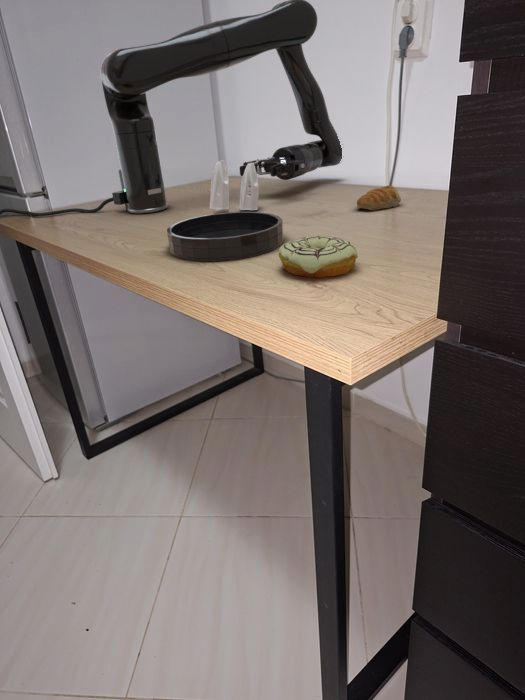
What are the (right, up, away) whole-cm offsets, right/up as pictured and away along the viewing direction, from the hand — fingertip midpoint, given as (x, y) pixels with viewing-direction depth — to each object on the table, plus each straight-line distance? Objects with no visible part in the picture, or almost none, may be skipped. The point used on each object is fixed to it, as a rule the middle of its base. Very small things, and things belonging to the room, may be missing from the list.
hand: (256, 171), depth 113 cm
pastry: (+26, -11, -9) cm, 29 cm away
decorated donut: (+9, -29, -43) cm, 52 cm away
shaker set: (-5, -10, -3) cm, 12 cm away
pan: (-5, -22, -27) cm, 35 cm away
